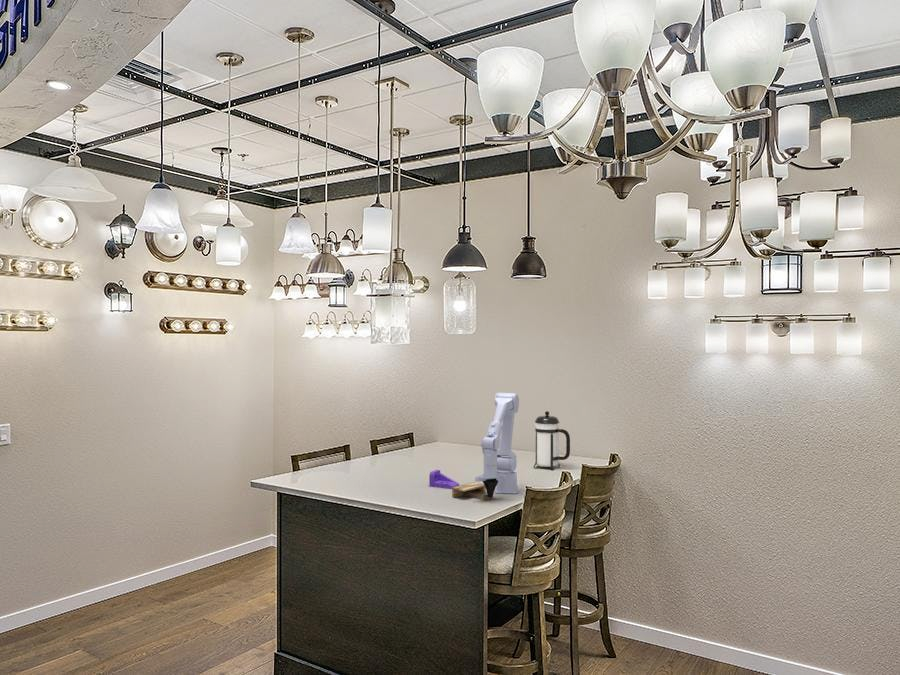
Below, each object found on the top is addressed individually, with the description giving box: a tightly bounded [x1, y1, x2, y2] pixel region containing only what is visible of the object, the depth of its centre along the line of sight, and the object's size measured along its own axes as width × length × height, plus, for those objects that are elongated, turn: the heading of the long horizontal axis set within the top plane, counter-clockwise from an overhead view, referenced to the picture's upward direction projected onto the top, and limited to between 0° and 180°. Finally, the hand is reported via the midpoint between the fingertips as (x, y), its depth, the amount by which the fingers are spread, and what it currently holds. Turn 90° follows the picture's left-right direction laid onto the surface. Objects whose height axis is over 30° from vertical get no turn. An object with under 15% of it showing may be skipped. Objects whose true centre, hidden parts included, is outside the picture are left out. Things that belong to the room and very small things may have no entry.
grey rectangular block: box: [462, 489, 494, 501], centre depth 285 cm, size 12×6×2 cm, turn 45°
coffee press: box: [533, 411, 571, 471], centre depth 350 cm, size 17×16×30 cm
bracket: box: [428, 469, 460, 490], centre depth 305 cm, size 12×7×7 cm, turn 63°
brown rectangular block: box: [451, 481, 487, 498], centre depth 286 cm, size 7×14×4 cm, turn 136°
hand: (490, 496), depth 280 cm, fingers closed, pressing on grey rectangular block
